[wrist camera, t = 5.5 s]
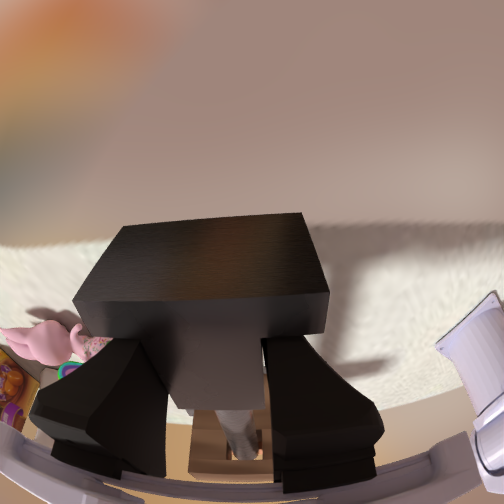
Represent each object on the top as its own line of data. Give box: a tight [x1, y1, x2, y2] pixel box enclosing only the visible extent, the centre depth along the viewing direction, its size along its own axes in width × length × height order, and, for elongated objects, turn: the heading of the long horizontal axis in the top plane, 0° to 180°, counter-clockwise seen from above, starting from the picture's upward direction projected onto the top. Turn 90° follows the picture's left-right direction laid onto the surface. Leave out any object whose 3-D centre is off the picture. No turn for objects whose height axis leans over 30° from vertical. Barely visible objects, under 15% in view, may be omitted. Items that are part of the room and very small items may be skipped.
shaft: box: [72, 213, 330, 460], centre depth 14 cm, size 18×7×4 cm, turn 4°
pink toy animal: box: [0, 320, 113, 380], centre depth 19 cm, size 6×6×15 cm
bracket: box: [188, 374, 273, 482], centre depth 20 cm, size 3×8×9 cm, turn 94°
